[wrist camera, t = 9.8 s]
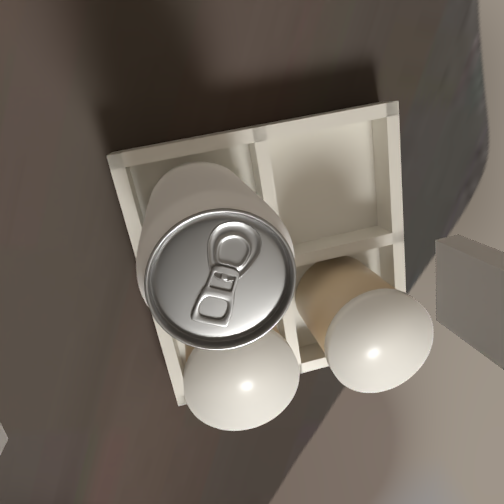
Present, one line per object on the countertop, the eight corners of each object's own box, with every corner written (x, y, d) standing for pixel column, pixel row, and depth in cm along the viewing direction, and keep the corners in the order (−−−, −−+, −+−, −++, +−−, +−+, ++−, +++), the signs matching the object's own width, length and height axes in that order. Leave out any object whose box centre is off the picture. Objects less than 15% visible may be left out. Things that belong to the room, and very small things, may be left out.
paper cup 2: (298, 341, 30) (335, 404, 24) (287, 263, 28) (323, 309, 22) (377, 320, 31) (434, 377, 25) (372, 243, 29) (432, 282, 22)
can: (263, 177, 26) (333, 225, 15) (232, 268, 28) (274, 373, 16) (163, 145, 24) (158, 171, 13) (136, 244, 26) (112, 343, 15)
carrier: (177, 384, 30) (178, 406, 28) (112, 151, 24) (106, 155, 22) (391, 328, 32) (407, 344, 30) (379, 102, 26) (398, 100, 24)
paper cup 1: (191, 369, 29) (197, 443, 23) (170, 290, 27) (171, 348, 21) (275, 347, 30) (306, 413, 24) (262, 269, 28) (291, 318, 21)
